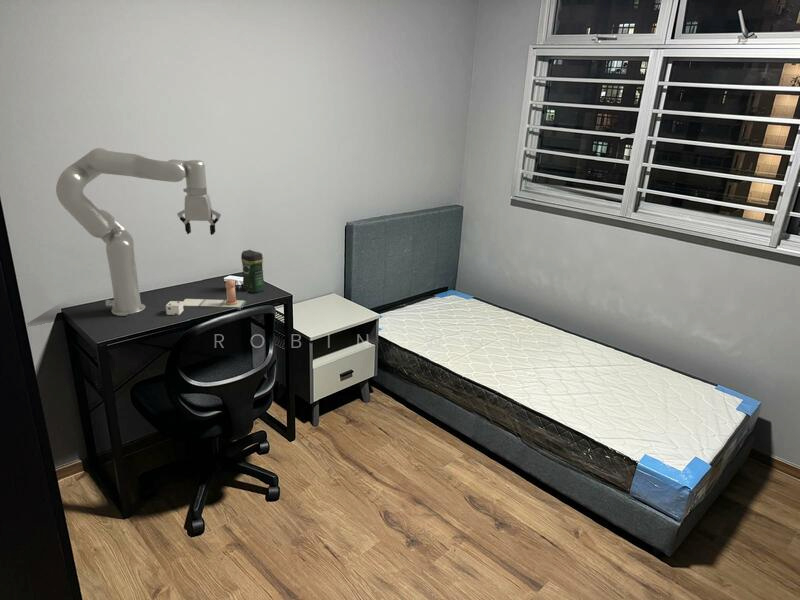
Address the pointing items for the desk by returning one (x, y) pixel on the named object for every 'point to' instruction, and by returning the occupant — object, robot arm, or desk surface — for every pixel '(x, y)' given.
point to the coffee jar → (252, 271)
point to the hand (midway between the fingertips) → (200, 233)
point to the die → (174, 308)
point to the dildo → (230, 293)
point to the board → (212, 303)
